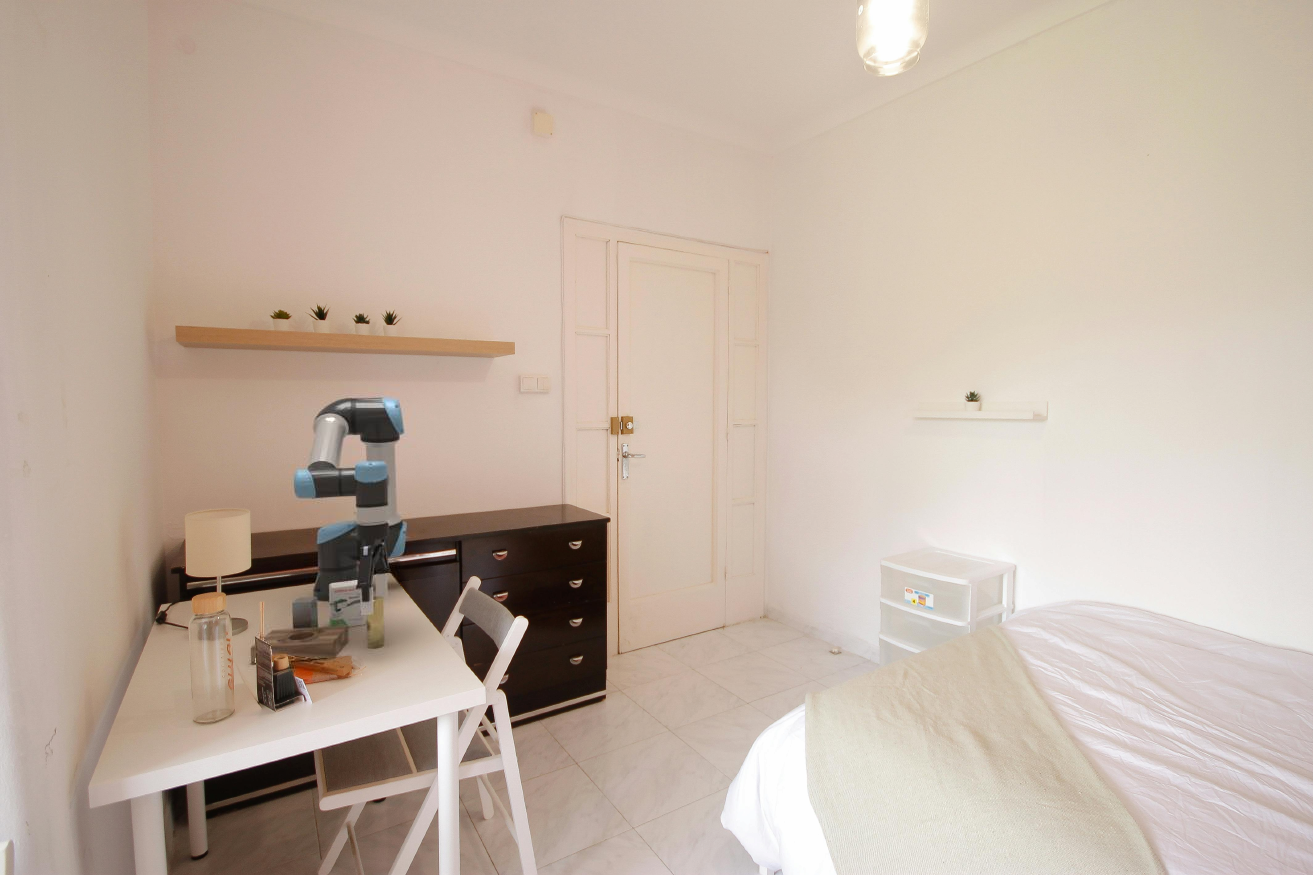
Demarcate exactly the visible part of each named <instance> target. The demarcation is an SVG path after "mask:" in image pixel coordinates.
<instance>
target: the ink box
mask: <svg viewBox="0 0 1313 875" xmlns="http://www.w3.org/2000/svg"><path fill="white" fill-rule="evenodd" d="M357 581H358V580H354V581H345V582H337V583H331V584H330V585H329V627H330V626H346V625H348V628H351V627H357V626H364V625H365V624H366V615H361V603H360V589H356V585H357Z"/></svg>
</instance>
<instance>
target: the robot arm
mask: <svg viewBox="0 0 1313 875" xmlns="http://www.w3.org/2000/svg"><path fill="white" fill-rule="evenodd" d="M400 404H401V403H400V401H399V400H398V399H396V398H390V397H389V398H387V397H355V398H354V397H344V398H341V399H337V400H335V401H333V402H330V403H329V404H328V405H325V406H324V407H323V408H322V409H321V410H320V411H319V412H318V413H317V414H316V416H315V418H314V421H313V425H312V430H313V433H314V437H313V442H312V444H311V450H310V453H309V457H308V462H307V465H306V468H304V469H298V470H296V471H295V472H294V476H293V490H294V491H293V492H294V495H295V496H296V498H298V499H312V500H314V499H323V498H325V499H326V498H341V497H355V510H353V514H354V515H355V519H356V520H343V521H339V522H335V523H330V524H327V525H323V526H322V527H321V528H319V529H318V530H317V537H316V538H317V541H316V544H317V568H318V569H317V571H318V572H317V573H318V574H317V576H316V579H315V582H314V586H313V589H312V597H317V601H326V602H327V601H329V585H330V584H331V583H337V582H345V581H354V580H358V581H357V585H356V589H360V603H361V615H365V616H366V615H370V614H373V613H374V611H373V597H374V587H373V586H372V583H373V579H374V573H375V571H376V574H375V597H383V600H385V599H388V596H389V595H388V574H390V573H391V568H390V564H389V559H391V558H400V557H401V556H403V554H404V552H405V547H406V540H407V539H406V538H407V537H406V536H407V530H408V529H407V528H408V526H407V524H408V523H407V521H403V516H401V514H399V513H398V508H397V507H398V506H397V505H398V504H397V500H398V499H397V498H398V497H397V473H396V472H397V471H396V444H397V443H398V442H399V441H400V440H401V438H400V435H404V434H405V428H404V421H403V420H404V418H403V414H402V408H401V405H400ZM347 436H360V438H359V439H360V442H361V443H362V444H363V445H364V446H365V454H366V455H365V456H366V457H365V458H366V461H361V462H357V463H355V465H354V467H340V463H341V456H342V453H343V452H342V450H343V444H344V439H345V438H346V437H347Z"/></svg>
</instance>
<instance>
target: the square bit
mask: <svg viewBox="0 0 1313 875" xmlns="http://www.w3.org/2000/svg"><path fill="white" fill-rule="evenodd" d="M291 608H292V612H291V613H292V629H299V628H314V627H319V619H318V618H319V617H318V615H319V614H318V613H319V612H318V600H317V597H313V596H311V597H310V596H309V597H308V596H307V597H298V598H297V599H295V600H294V601H293V602H292V603H291Z"/></svg>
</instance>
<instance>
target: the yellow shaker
mask: <svg viewBox="0 0 1313 875" xmlns="http://www.w3.org/2000/svg"><path fill="white" fill-rule="evenodd" d="M384 606H385V605H384V599H383V597H376V596H373V611H374V613H373V614H370V615H365V617H366V639H367V640H366V641H367V642H366V644H367V647H366V648H368V649H378V648H382V647H383V646H385V614H384V612H385V611H384V610H385V609H384V608H385V607H384Z"/></svg>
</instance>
